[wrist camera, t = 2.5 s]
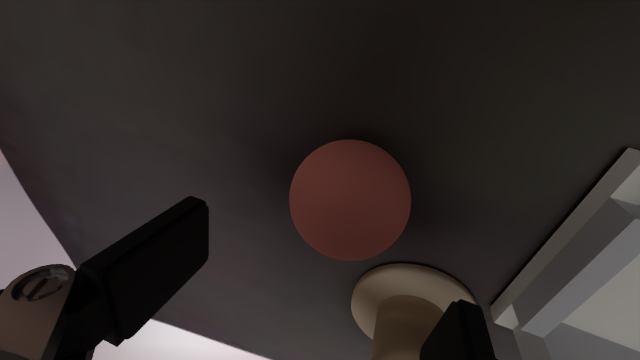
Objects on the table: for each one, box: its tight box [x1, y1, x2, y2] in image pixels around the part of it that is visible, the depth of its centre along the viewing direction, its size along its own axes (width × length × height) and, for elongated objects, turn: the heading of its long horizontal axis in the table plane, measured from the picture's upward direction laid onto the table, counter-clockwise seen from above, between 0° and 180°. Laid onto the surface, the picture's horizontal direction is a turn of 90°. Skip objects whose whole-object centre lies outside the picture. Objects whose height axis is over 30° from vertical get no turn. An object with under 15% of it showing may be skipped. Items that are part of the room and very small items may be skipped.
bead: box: [289, 140, 411, 261], centre depth 12 cm, size 6×6×6 cm
